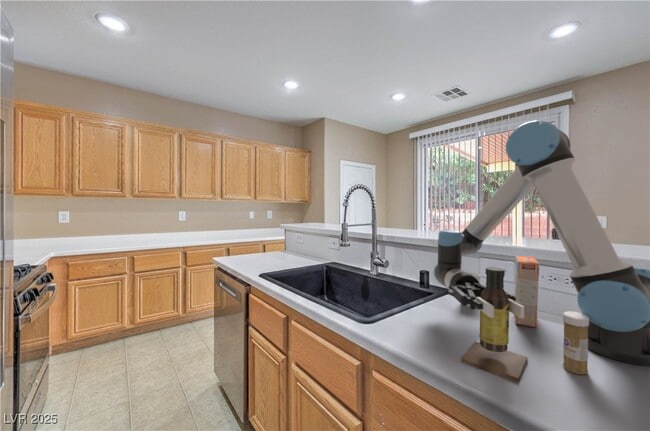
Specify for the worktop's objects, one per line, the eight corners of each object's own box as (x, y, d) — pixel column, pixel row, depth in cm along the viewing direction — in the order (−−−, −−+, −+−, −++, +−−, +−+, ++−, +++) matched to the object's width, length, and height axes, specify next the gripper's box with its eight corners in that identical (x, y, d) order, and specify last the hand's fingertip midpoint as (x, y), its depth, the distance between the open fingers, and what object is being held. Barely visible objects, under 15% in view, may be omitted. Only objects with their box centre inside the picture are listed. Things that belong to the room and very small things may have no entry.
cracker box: (538, 328, 90) (540, 263, 89) (515, 324, 93) (516, 261, 92) (533, 314, 102) (535, 256, 101) (513, 311, 105) (514, 254, 104)
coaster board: (527, 360, 71) (527, 356, 71) (518, 382, 63) (518, 378, 63) (475, 344, 80) (475, 341, 80) (460, 362, 71) (460, 358, 71)
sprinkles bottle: (558, 365, 69) (557, 311, 68) (573, 362, 70) (573, 309, 69) (577, 377, 65) (577, 319, 64) (594, 373, 66) (594, 317, 65)
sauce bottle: (512, 355, 68) (515, 272, 67) (484, 352, 69) (486, 271, 68) (501, 342, 74) (504, 266, 73) (475, 340, 75) (477, 265, 74)
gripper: (492, 295, 89) (549, 328, 66) (430, 295, 89) (465, 327, 66) (493, 272, 88) (550, 296, 65) (431, 271, 89) (465, 295, 66)
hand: (507, 312), depth 66 cm, fingers closed on sauce bottle, 6 cm apart
